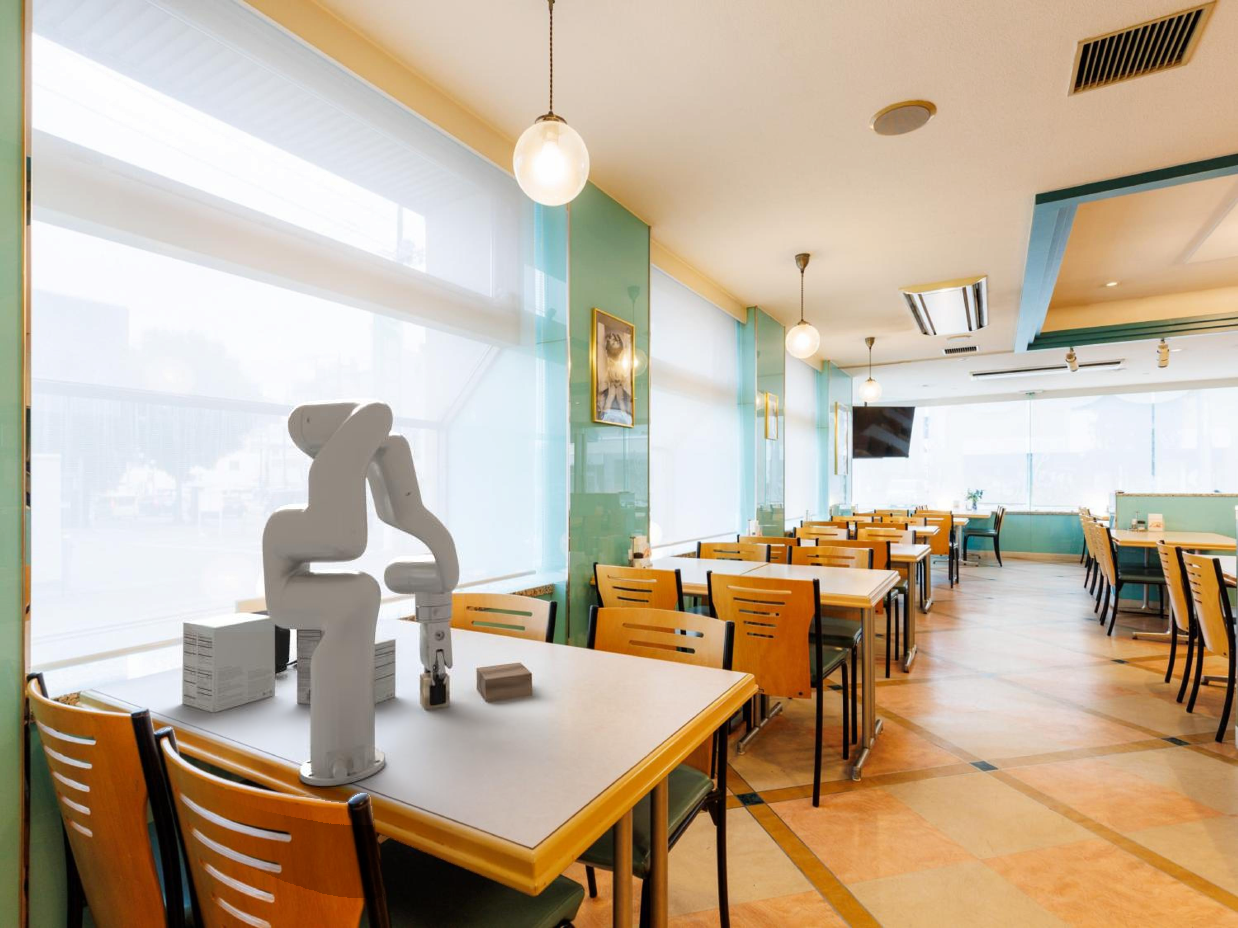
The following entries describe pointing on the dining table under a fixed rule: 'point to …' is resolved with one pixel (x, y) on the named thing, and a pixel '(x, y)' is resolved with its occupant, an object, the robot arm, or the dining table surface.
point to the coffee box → (305, 661)
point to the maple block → (425, 691)
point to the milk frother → (280, 645)
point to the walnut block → (504, 682)
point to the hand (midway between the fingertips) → (434, 699)
